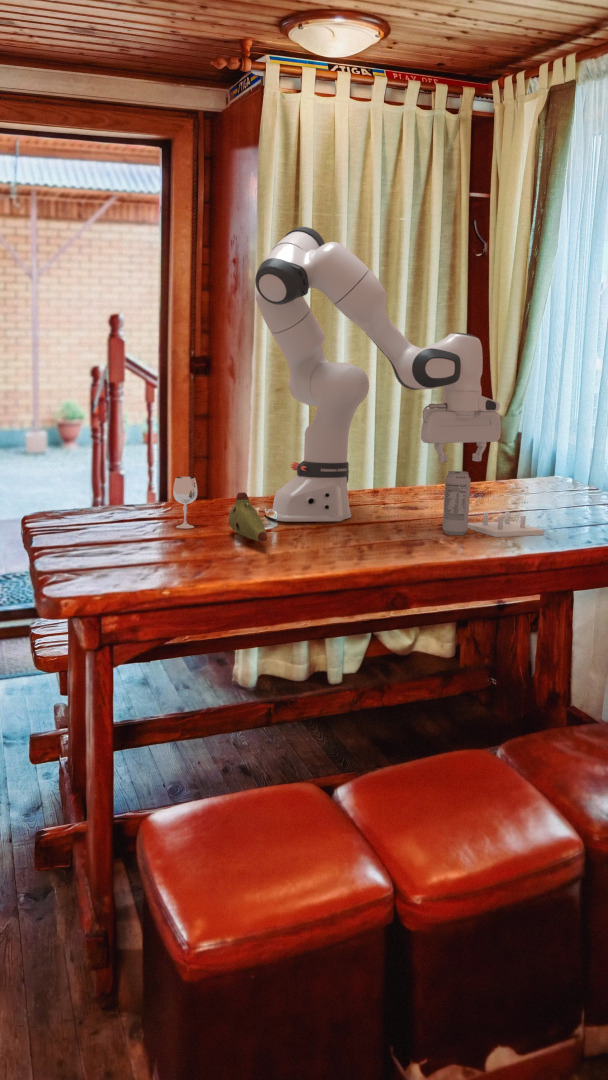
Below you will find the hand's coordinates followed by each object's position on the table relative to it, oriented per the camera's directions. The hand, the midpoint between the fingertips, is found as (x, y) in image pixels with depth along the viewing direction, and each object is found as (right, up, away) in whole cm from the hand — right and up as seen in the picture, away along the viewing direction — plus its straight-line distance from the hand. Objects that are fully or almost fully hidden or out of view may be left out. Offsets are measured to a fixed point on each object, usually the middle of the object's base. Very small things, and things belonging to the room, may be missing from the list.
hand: (459, 461), depth 216 cm
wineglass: (-66, -16, +2) cm, 68 cm away
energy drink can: (-1, -17, +3) cm, 18 cm away
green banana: (-50, -19, -9) cm, 54 cm away
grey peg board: (+12, -17, +8) cm, 22 cm away
